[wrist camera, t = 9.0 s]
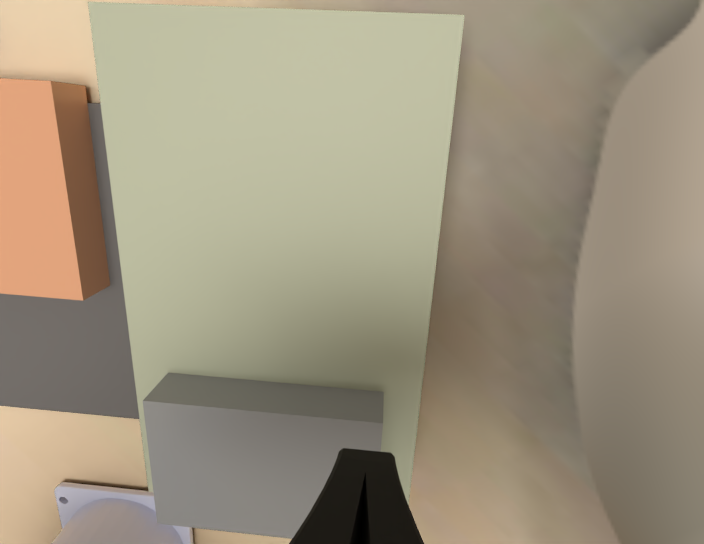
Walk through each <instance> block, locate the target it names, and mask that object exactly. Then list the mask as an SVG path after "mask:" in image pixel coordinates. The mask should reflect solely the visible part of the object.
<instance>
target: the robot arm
mask: <svg viewBox="0 0 704 544" xmlns="http://www.w3.org/2000/svg"><path fill="white" fill-rule="evenodd" d="M55 497H56V501H57V506H58V511H59V516H60V520H61V525H62V530H61V531H60V533H59V534H58V535H57V536H56V537H55V539H54V540H53V541H52V542H51V544H193V532H192V527H183V526H174V525H165V524H157V518H156V509H155V501H154V493H153V492H149V491H143V490H134V489H124V488H115V487H106V486H96V485H87V484H78V483H68V482H62V483H60V484H59V485H58V486H57V487H56V488H55ZM289 544H424V542H423V540H422V538H421V536H420V533H419V531H418V529H417V526H416V524H415V521H414V519H413V516H412V513H411V511H410V508H409V506H408V503H407V500H406V498H405V495H404V491H403V488H402V485H401V482H400V479H399V475H398V471H397V467H396V462H395V457H394V455H393V454H392V453H390V452H379V451H369V450H359V449H349V448H343V449H341V450H340V451H339V453H338V456H337V459H336V462H335V464H334V467H333V469H332V471H331V473H330V476H329V478H328V480H327V482H326V484H325V486H324V488H323V489H322V491H321V493H320V495H319V497H318V498H317V500H316V502H315V504H314V505H313V507H312V509H311V511H310V512H309V514H308V516H307V517H306V519H305V520H304V522H303V523H302V525H301V526H300V528H299V530H298V531H297V533H296V534H295V536H294V537H293V539H292V540H291V542H290V543H289Z"/></svg>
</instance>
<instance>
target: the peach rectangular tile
mask: <svg viewBox="0 0 704 544" xmlns="http://www.w3.org/2000/svg"><path fill="white" fill-rule="evenodd" d="M108 286H110V279H109V271H108V263H107V255H106V247H105V239H104V231H103V223H102V215H101V207H100V199H99V191H98V183H97V176H96V168H95V160H94V152H93V144H92V136H91V128H90V120H89V112H88V104H87V96H86V88H85V86H83V85H76V84H68V83H61V82H53V81H39V80H21V79H3V78H0V293H1V294H13V295H24V296H36V297H47V298H59V299H70V300H82V301H83V300H85V299H87V298H89V297H91V296H92V295H94V294H96V293H98V292H99V291H101V290H103V289H105V288H106V287H108Z"/></svg>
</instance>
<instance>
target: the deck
mask: <svg viewBox="0 0 704 544" xmlns="http://www.w3.org/2000/svg"><path fill="white" fill-rule="evenodd" d="M88 7H89V15H90V23H91V31H92V39H93V47H94V55H95V63H96V71H97V80H98V88H99V96H100V104H101V112H102V120H103V128H104V136H105V144H106V152H107V160H108V168H109V176H110V184H111V193H112V201H113V209H114V217H115V225H116V233H117V241H118V249H119V257H120V265H121V273H122V281H123V289H124V297H125V305H126V314H127V322H128V330H129V338H130V346H131V354H132V362H133V370H134V378H135V386H136V394H137V402H138V410H139V418H140V426H141V435H142V443H143V451H144V459H145V467H146V475H147V483H148V491H149V492H153V484H152V476H151V467H150V459H149V451H148V442H147V434H146V426H145V417H144V409H143V400H144V399H145V397H146V396H147V395H148V394H149V393H150V392H151V391H152V390H153V389H154V388H155V386H156V385H157V384H158V383H159V382H160V381H161V380H162V379H163V378H164V376H165V375H166V374H167V373H179V374H190V375H201V376H213V377H224V378H235V379H246V380H257V381H269V382H280V383H291V384H302V385H313V386H325V387H336V388H347V389H358V390H369V391H381V392H384V405H383V430H382V442H381V452H390V453H392V454H393V455H394V457H395V462H396V467H397V471H398V475H399V479H400V482H401V485H402V488H403V491H404V495H405V498H406V500H407V503H408V506H409V497H410V488H411V479H412V471H413V462H414V453H415V444H416V436H417V427H418V418H419V409H420V401H421V392H422V383H423V374H424V366H425V357H426V348H427V339H428V331H429V322H430V313H431V304H432V296H433V287H434V278H435V269H436V261H437V252H438V243H439V235H440V226H441V217H442V208H443V200H444V191H445V182H446V173H447V165H448V156H449V147H450V138H451V130H452V121H453V112H454V103H455V95H456V86H457V77H458V68H459V60H460V51H461V42H462V33H463V25H464V16H465V15H452V14H423V13H394V12H365V11H336V10H308V9H279V8H250V7H221V6H192V5H163V4H135V3H106V2H88Z"/></svg>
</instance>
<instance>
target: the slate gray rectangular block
mask: <svg viewBox="0 0 704 544" xmlns="http://www.w3.org/2000/svg"><path fill="white" fill-rule="evenodd" d="M383 405H384V392H381V391H369V390H358V389H347V388H336V387H325V386H313V385H302V384H291V383H280V382H269V381H257V380H246V379H235V378H224V377H213V376H201V375H190V374H179V373H167V374H166V375H165V376H164V378H163V379H162V380H161V381H160V382H159V383H158V384H157V385H156V386H155V388H154V389H153V390H152V391H151V392H150V393H149V394H148V395H147V396H146V397H145V399H144V400H143V409H144V417H145V426H146V434H147V442H148V451H149V459H150V467H151V476H152V484H153V493H154V501H155V509H156V518H157V524H165V525H174V526H183V527H192V528H201V529H209V530H218V531H227V532H236V533H245V534H254V535H263V536H272V537H281V538H290V539H293V537H294V536H295V534H296V533H297V531H298V530H299V528H300V526H301V525H302V523H303V522H304V520H305V519H306V517H307V516H308V514H309V512H310V511H311V509H312V507H313V505H314V504H315V502H316V500H317V498H318V497H319V495H320V493H321V491H322V489H323V488H324V486H325V484H326V482H327V480H328V478H329V476H330V473H331V471H332V469H333V467H334V464H335V462H336V459H337V456H338V453H339V451H340V450H341V449H343V448H349V449H359V450H369V451H379V452H381V442H382V430H383Z"/></svg>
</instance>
